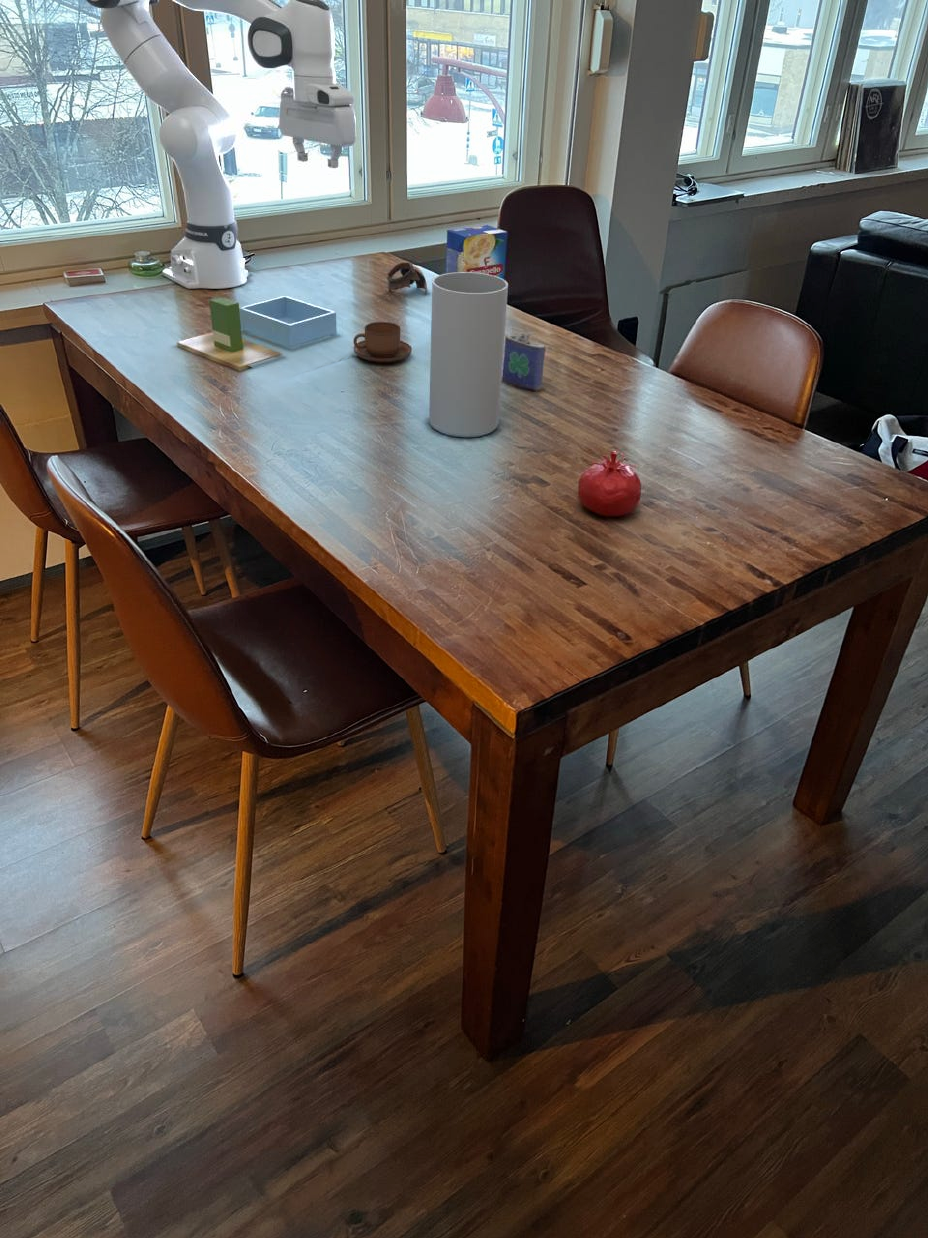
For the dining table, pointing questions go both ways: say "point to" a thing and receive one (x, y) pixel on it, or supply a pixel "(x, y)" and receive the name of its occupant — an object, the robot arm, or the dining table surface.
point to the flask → (523, 362)
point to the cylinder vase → (466, 352)
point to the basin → (288, 321)
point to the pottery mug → (406, 277)
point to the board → (227, 352)
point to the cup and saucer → (381, 343)
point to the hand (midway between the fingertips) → (317, 164)
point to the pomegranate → (610, 487)
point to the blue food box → (476, 250)
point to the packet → (226, 324)
